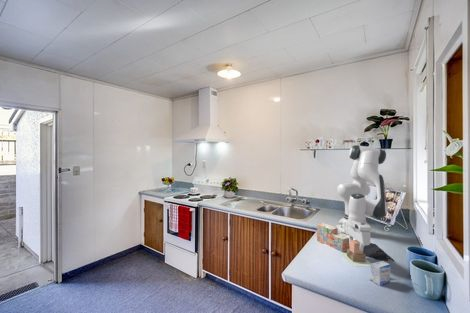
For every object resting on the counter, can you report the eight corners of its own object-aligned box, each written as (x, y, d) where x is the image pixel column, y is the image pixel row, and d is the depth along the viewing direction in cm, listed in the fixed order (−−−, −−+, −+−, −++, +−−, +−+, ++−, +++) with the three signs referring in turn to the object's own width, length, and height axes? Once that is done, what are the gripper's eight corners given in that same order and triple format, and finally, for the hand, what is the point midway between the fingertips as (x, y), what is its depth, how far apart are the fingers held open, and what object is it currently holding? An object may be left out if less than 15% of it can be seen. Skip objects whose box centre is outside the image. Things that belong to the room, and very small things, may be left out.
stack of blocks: (349, 252, 136) (349, 233, 136) (342, 254, 134) (342, 234, 134) (323, 239, 156) (323, 222, 156) (316, 240, 154) (316, 223, 153)
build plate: (339, 253, 134) (339, 252, 134) (358, 254, 134) (358, 252, 134) (352, 267, 118) (352, 265, 118) (375, 268, 118) (375, 266, 118)
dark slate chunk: (378, 247, 145) (378, 240, 145) (396, 264, 123) (396, 256, 123) (353, 245, 148) (353, 238, 148) (366, 261, 126) (366, 253, 126)
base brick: (346, 255, 130) (347, 249, 129) (358, 256, 129) (358, 249, 129) (353, 261, 123) (353, 254, 122) (365, 262, 122) (365, 254, 122)
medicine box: (379, 285, 102) (380, 267, 102) (370, 280, 106) (370, 263, 106) (390, 282, 106) (390, 264, 105) (380, 277, 110) (381, 260, 109)
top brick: (349, 249, 128) (349, 239, 128) (358, 250, 128) (358, 239, 128) (354, 253, 123) (354, 243, 123) (362, 254, 123) (363, 243, 123)
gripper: (342, 217, 136) (342, 238, 136) (361, 228, 115) (360, 254, 116) (352, 217, 136) (352, 239, 136) (373, 228, 115) (372, 254, 116)
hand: (356, 246), depth 126 cm, fingers open, 8 cm apart
